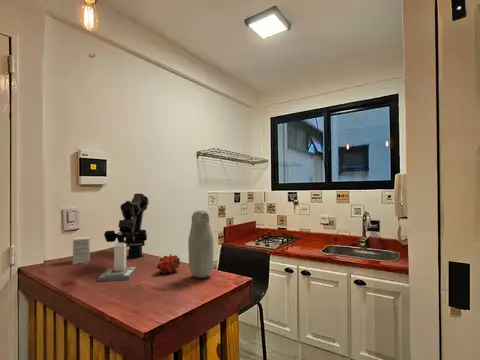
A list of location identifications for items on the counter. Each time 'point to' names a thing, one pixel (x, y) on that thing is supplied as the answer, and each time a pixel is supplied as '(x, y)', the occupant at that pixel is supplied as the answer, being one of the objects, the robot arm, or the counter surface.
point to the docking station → (117, 274)
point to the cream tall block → (119, 257)
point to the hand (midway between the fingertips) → (122, 250)
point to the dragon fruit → (168, 264)
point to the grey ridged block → (81, 250)
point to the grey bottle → (200, 245)
